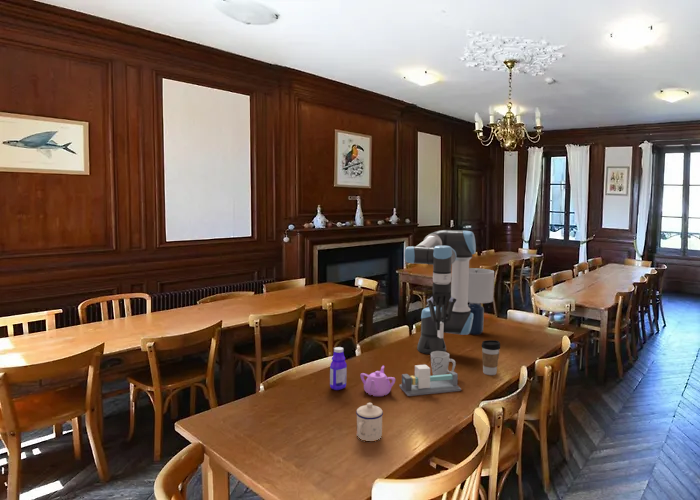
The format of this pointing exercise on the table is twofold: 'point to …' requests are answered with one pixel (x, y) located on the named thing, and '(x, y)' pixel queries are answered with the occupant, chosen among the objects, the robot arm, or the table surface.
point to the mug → (441, 363)
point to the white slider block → (422, 376)
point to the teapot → (377, 383)
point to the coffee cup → (490, 356)
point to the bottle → (338, 369)
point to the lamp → (479, 295)
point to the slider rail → (435, 386)
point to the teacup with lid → (369, 422)
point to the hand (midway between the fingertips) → (440, 337)
